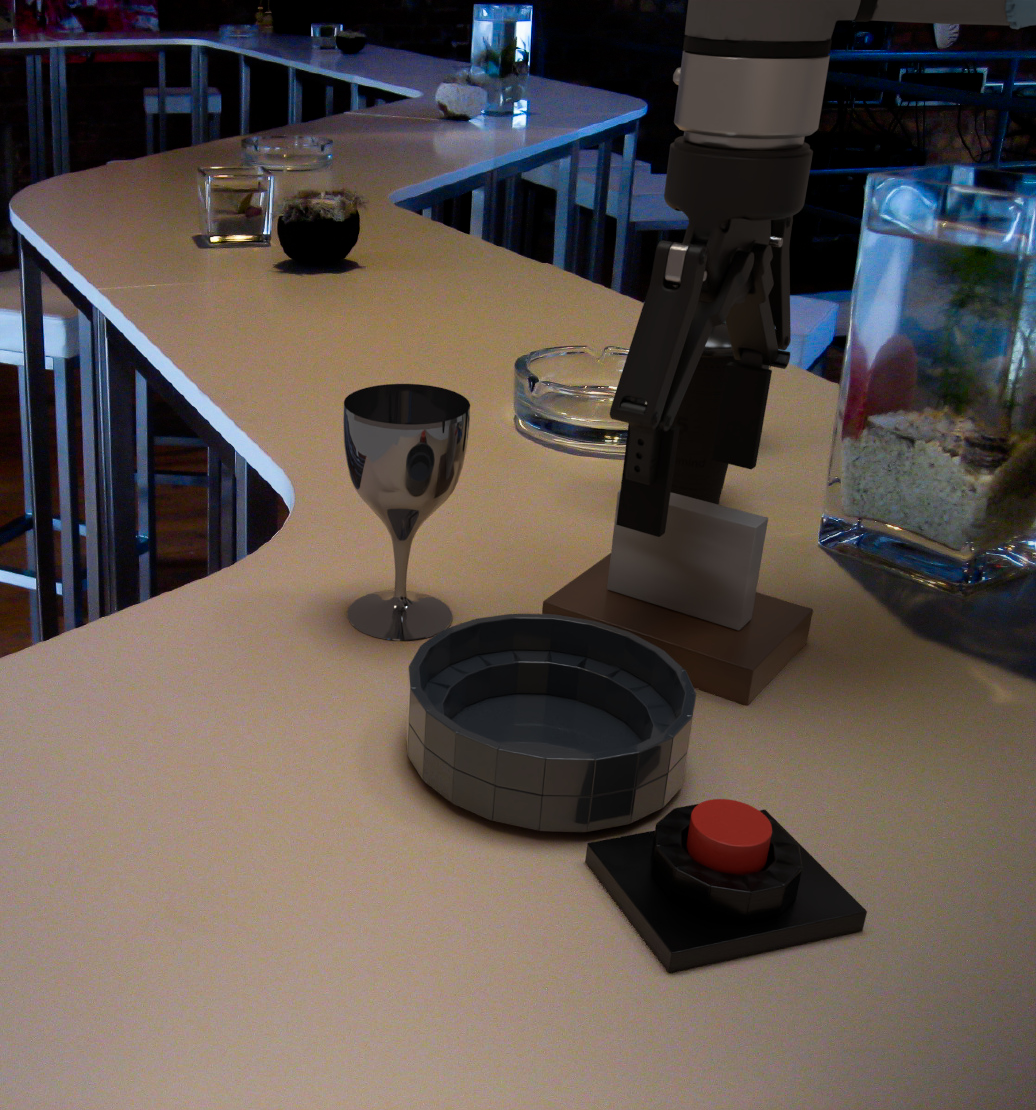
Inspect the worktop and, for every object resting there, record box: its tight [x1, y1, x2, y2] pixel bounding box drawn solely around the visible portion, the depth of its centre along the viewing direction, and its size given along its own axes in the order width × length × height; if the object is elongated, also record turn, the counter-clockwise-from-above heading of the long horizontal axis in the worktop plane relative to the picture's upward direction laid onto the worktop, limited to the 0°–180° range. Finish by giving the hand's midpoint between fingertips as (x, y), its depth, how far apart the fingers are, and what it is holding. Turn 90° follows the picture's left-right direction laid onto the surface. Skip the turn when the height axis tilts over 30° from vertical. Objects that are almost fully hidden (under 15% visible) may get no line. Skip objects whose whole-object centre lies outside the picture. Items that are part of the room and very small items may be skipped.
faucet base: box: [541, 552, 814, 707], centre depth 84 cm, size 14×10×2 cm
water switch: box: [584, 803, 868, 975], centre depth 61 cm, size 10×8×3 cm
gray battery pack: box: [607, 490, 769, 631], centre depth 82 cm, size 9×2×7 cm, turn 51°
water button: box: [687, 798, 772, 875], centre depth 60 cm, size 4×4×2 cm
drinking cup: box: [671, 321, 741, 505], centre depth 101 cm, size 8×8×20 cm
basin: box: [405, 613, 697, 833], centre depth 71 cm, size 15×15×5 cm
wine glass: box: [342, 383, 471, 642], centre depth 84 cm, size 8×8×15 cm
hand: (689, 494), depth 80 cm, fingers open, 13 cm apart
